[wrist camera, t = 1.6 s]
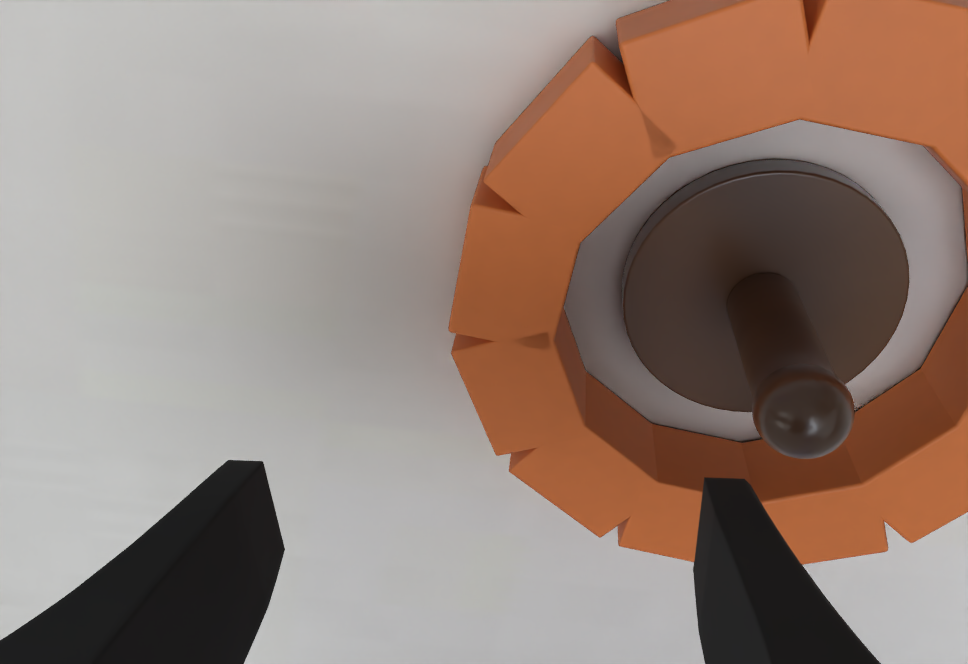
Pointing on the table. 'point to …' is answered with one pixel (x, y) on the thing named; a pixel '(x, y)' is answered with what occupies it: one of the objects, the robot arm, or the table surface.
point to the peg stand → (767, 297)
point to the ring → (616, 175)
